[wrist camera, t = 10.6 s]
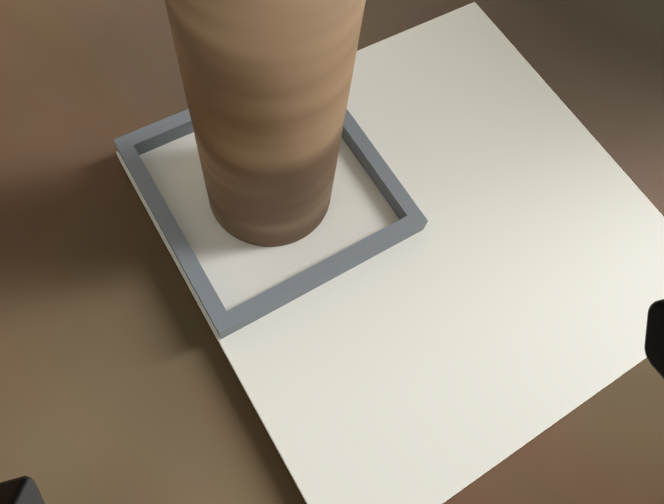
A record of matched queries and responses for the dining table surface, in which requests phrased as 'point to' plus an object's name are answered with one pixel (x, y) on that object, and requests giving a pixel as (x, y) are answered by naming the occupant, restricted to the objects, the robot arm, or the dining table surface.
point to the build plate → (423, 271)
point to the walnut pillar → (267, 106)
